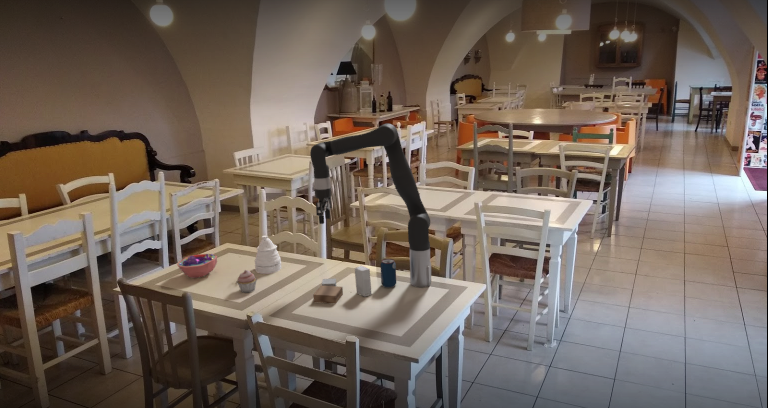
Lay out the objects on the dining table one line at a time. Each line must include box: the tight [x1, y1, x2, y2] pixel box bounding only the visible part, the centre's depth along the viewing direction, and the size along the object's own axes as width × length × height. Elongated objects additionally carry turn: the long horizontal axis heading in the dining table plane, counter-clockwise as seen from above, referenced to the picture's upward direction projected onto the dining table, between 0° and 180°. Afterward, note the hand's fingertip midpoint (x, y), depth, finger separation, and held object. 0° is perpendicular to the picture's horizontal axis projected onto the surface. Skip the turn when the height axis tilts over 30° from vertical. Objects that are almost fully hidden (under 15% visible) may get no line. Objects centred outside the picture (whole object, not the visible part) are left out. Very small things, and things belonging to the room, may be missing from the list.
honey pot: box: [254, 235, 282, 275], centre depth 279 cm, size 13×13×18 cm
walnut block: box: [313, 285, 344, 305], centre depth 243 cm, size 10×10×4 cm
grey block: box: [321, 278, 337, 286], centre depth 253 cm, size 6×6×4 cm
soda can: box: [380, 258, 397, 289], centre depth 254 cm, size 7×7×12 cm
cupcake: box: [236, 269, 258, 294], centre depth 254 cm, size 9×9×10 cm
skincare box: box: [354, 265, 372, 298], centre depth 246 cm, size 6×4×12 cm
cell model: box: [176, 253, 218, 279], centre depth 275 cm, size 17×20×11 cm
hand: (325, 221), depth 258 cm, fingers open, 8 cm apart
